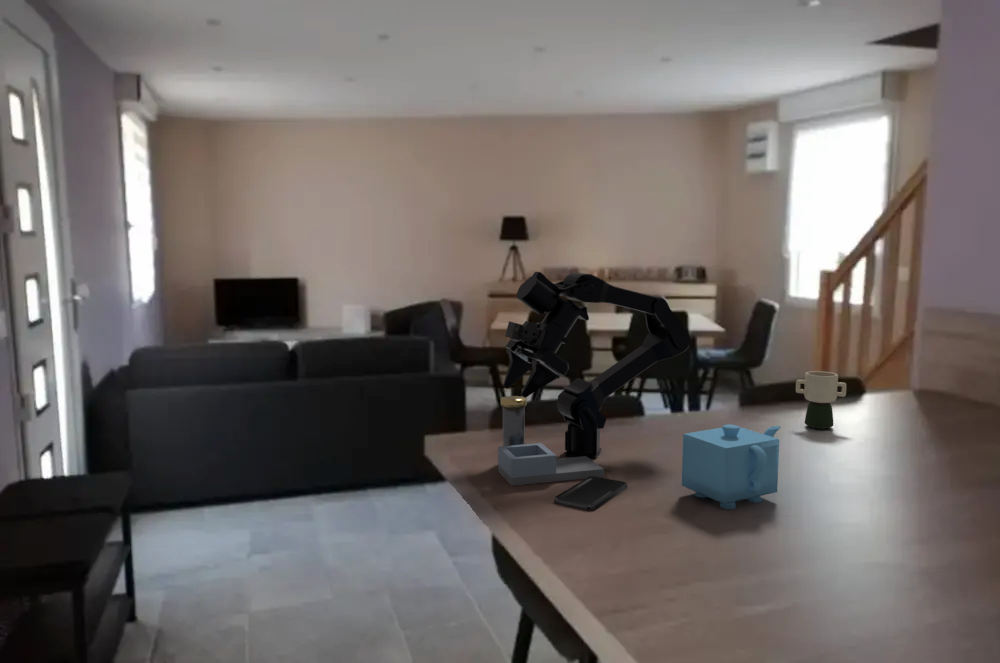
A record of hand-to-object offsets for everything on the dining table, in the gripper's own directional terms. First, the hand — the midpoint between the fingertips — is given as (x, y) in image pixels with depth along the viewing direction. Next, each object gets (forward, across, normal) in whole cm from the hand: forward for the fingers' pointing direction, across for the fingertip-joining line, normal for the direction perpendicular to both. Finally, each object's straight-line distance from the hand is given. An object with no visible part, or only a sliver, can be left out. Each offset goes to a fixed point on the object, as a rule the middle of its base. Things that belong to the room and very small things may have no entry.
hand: (513, 391), depth 153 cm
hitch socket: (+10, +9, +11) cm, 18 cm away
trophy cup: (-33, +3, +71) cm, 79 cm away
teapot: (-6, +33, +33) cm, 47 cm away
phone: (+9, +23, +13) cm, 28 cm away
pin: (+12, 0, +8) cm, 15 cm away
